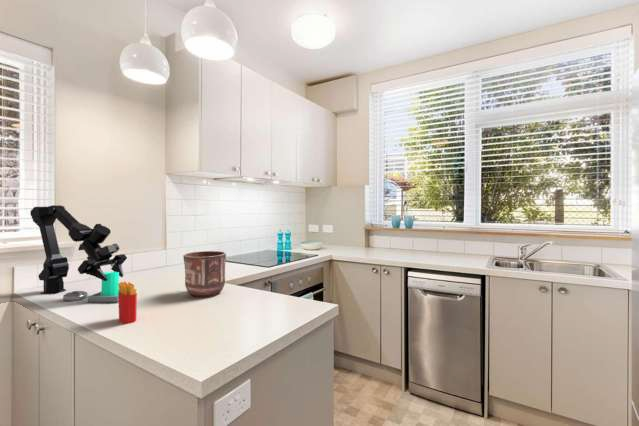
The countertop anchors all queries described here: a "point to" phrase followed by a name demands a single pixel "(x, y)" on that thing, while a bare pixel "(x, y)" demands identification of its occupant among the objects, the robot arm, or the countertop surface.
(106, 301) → the tray
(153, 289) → the countertop surface
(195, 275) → the pottery
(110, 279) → the candle
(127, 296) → the french fries
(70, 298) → the pulley
